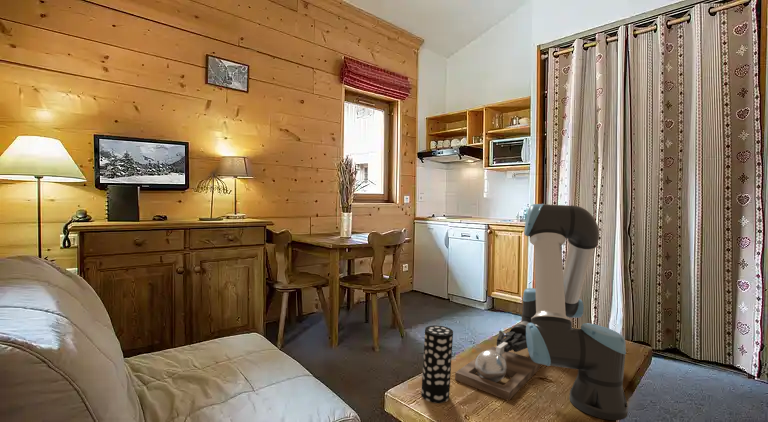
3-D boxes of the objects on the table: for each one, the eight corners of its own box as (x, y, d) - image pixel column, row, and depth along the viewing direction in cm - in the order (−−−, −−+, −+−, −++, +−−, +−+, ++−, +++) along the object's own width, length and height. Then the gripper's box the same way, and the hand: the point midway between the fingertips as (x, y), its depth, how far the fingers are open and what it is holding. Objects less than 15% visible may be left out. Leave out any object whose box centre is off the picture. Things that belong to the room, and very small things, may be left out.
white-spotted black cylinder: (430, 385, 120) (434, 323, 119) (454, 395, 115) (458, 330, 114) (415, 395, 114) (419, 330, 113) (439, 406, 109) (444, 337, 108)
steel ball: (511, 361, 119) (511, 387, 122) (499, 341, 129) (499, 365, 132) (480, 366, 119) (481, 391, 122) (470, 345, 128) (471, 369, 131)
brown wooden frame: (492, 352, 148) (492, 346, 148) (540, 368, 137) (540, 361, 137) (455, 379, 125) (455, 372, 125) (508, 400, 114) (509, 392, 114)
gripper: (539, 348, 143) (516, 368, 125) (505, 338, 151) (479, 356, 133) (540, 328, 143) (518, 346, 124) (506, 320, 151) (480, 335, 132)
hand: (498, 351), depth 129 cm, fingers closed
